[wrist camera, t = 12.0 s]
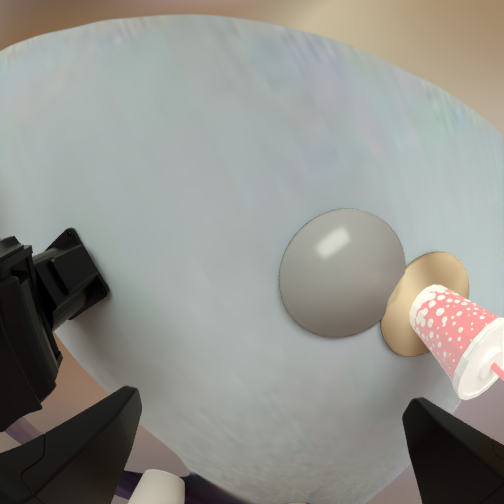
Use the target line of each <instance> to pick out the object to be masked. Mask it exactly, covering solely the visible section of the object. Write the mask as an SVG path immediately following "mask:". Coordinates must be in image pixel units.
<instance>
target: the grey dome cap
mask: <svg viewBox="0 0 504 504" xmlns="http://www.w3.org/2000/svg"><path fill="white" fill-rule="evenodd" d="M404 274H405V256H404V251H403V247H402V244H401V242H400V240H399V238H398V236H397V234H396V233H395V231H394V230H393V229H392V228H391V227H390V225H388V224H387V223H386V222H385V221H384V220H382V219H381V218H379V217H378V216H376V215H374V214H371V213H369V212H366V211H362V210H358V209H337V210H332V211H329V212H326V213H323V214H321V215H319V216H317V217H315V218H314V219H312V220H311V221H309V222H308V223H307V224H305V225H304V226H303V227H302V228H301V229H300V230H299V231H298V232H297V233H296V234H295V236H294V237H293V238H292V240H291V241H290V243H289V244H288V246H287V248H286V250H285V252H284V255H283V258H282V261H281V265H280V272H279V286H280V291H281V296H282V299H283V302H284V305H285V307H286V309H287V311H288V312H289V314H290V315H291V317H292V318H293V319H294V320H295V321H296V322H297V323H298V324H299V325H300V326H302V327H303V328H305V329H306V330H308V331H310V332H312V333H315V334H317V335H321V336H326V337H344V336H349V335H354V334H356V333H359V332H362V331H364V330H366V329H368V328H369V327H371V326H373V325H374V324H376V323H377V322H378V321H379V320H380V319H382V318H383V317H384V314H385V310H386V308H387V303H388V300H389V298H390V295H392V292H393V291H394V290H395V289H394V288H396V287H395V286H396V285H398V284H399V283H398V282H400V281H399V280H400V279H401V278H402V276H403V275H404ZM397 283H398V284H397ZM398 287H399V286H398ZM397 292H398V291H397ZM398 295H399V294H398ZM393 300H394V299H393ZM396 300H397V299H396ZM394 301H395V300H394Z"/></svg>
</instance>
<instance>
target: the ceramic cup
mask: <svg viewBox="0 0 504 504" xmlns="http://www.w3.org/2000/svg"><path fill="white" fill-rule="evenodd" d="M289 504H308V503H306V502H293V503H289Z"/></svg>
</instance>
